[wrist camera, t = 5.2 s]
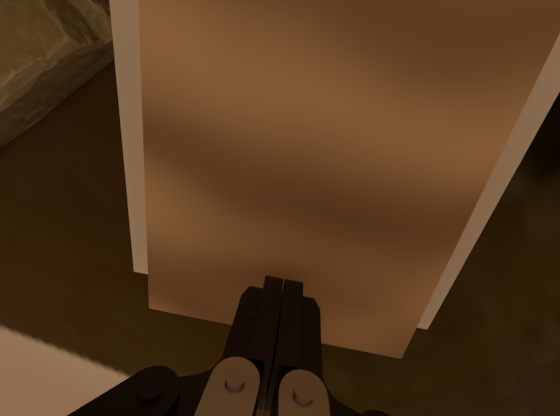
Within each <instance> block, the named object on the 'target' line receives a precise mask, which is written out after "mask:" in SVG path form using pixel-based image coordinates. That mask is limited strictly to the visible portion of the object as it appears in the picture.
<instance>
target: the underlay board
mask: <svg viewBox="0 0 560 416" xmlns="http://www.w3.org/2000/svg"><path fill="white" fill-rule="evenodd" d="M109 3H110V14H111V25H112V36H113V47H114V58H115V69H116V80H117V91H118V102H119V113H120V124H121V135H122V146H123V156H124V167H125V178H126V189H127V200H128V211H129V222H130V233H131V244H132V255H133V266H134V272H139V273H144V274H148V261H147V232H146V204H145V176H144V147H143V119H142V91H141V63H140V34H139V6H138V0H109ZM559 92H560V34H559V36H558V38H557V40H556V42H555V44H554V46H553V48H552V50H551V52H550V54H549V56H548V58H547V60H546V62H545V65H544V67H543V69H542V71H541V73H540V75H539V77H538V79H537V81H536V83H535V85H534V87H533V89H532V91H531V93H530V95H529V97H528V99H527V102H526V104H525V106H524V108H523V110H522V112H521V114H520V116H519V118H518V120H517V122H516V124H515V126H514V128H513V130H512V132H511V134H510V136H509V139H508V141H507V143H506V145H505V147H504V149H503V151H502V153H501V155H500V157H499V159H498V161H497V163H496V165H495V167H494V169H493V171H492V173H491V176H490V178H489V180H488V182H487V184H486V186H485V188H484V190H483V192H482V194H481V196H480V198H479V200H478V202H477V204H476V206H475V208H474V210H473V213H472V215H471V217H470V219H469V221H468V223H467V225H466V227H465V229H464V231H463V233H462V235H461V237H460V239H459V241H458V243H457V245H456V247H455V250H454V252H453V254H452V256H451V258H450V260H449V262H448V264H447V266H446V268H445V270H444V272H443V274H442V276H441V278H440V280H439V282H438V284H437V286H436V289H435V291H434V293H433V295H432V297H431V299H430V301H429V303H428V305H427V307H426V309H425V311H424V313H423V315H422V317H421V319H420V321H419V323H418V326H417V328H422V329H428V327H429V326H430V324H431V322H432V320H433V318H434V317H435V315H436V313H437V311H438V309H439V308H440V306H441V304H442V302H443V300H444V299H445V297H446V295H447V293H448V291H449V290H450V288H451V286H452V284H453V282H454V281H455V279H456V277H457V275H458V273H459V272H460V270H461V268H462V266H463V264H464V263H465V261H466V259H467V257H468V255H469V254H470V252H471V250H472V248H473V246H474V245H475V243H476V241H477V239H478V237H479V236H480V234H481V232H482V230H483V228H484V227H485V225H486V223H487V221H488V219H489V218H490V216H491V214H492V212H493V210H494V209H495V207H496V205H497V203H498V201H499V200H500V198H501V196H502V194H503V192H504V191H505V189H506V187H507V185H508V184H509V182H510V180H511V178H512V176H513V175H514V173H515V171H516V169H517V167H518V166H519V164H520V162H521V160H522V158H523V157H524V155H525V153H526V151H527V149H528V148H529V146H530V144H531V142H532V140H533V139H534V137H535V135H536V133H537V131H538V130H539V128H540V126H541V124H542V122H543V121H544V119H545V117H546V115H547V113H548V112H549V110H550V108H551V106H552V104H553V103H554V101H555V99H556V97H557V95H558V94H559Z"/></svg>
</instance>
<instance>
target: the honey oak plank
mask: <svg viewBox="0 0 560 416" xmlns="http://www.w3.org/2000/svg"><path fill="white" fill-rule="evenodd" d="M138 6H139V34H140V63H141V91H142V119H143V147H144V176H145V204H146V232H147V261H148V289H149V308H150V309H154V310H159V311H164V312H169V313H174V314H179V315H184V316H189V317H194V318H199V319H204V320H209V321H214V322H219V323H224V324H229V325H232V324H233V320H234V317H235V314H236V311H237V308H238V304H239V301H240V298H241V295H242V294H243V293H244V291H245V290H246V289H247V288H248V287H249V286H253V287H258V288H263V285H264V281H265V276H266V275H268V276H273V277H278V278H283V279H284V280H283V286H284V281H285V279H289V280H294V281H299V282H303V296H305V297H310V298H315V300H316V302H317V304H318V306H319V308H320V318H321V322H320V324H321V343H324V344H329V345H334V346H339V347H344V348H349V349H354V350H359V351H364V352H369V353H374V354H379V355H384V356H389V357H394V358H399V359H401V358H402V356H403V354H404V352H405V350H406V348H407V346H408V344H409V342H410V340H411V338H412V336H413V334H414V332H415V330H416V328H417V326H418V323H419V321H420V319H421V317H422V315H423V313H424V311H425V309H426V307H427V305H428V303H429V301H430V299H431V297H432V295H433V293H434V291H435V289H436V286H437V284H438V282H439V280H440V278H441V276H442V274H443V272H444V270H445V268H446V266H447V264H448V262H449V260H450V258H451V256H452V254H453V252H454V250H455V247H456V245H457V243H458V241H459V239H460V237H461V235H462V233H463V231H464V229H465V227H466V225H467V223H468V221H469V219H470V217H471V215H472V213H473V210H474V208H475V206H476V204H477V202H478V200H479V198H480V196H481V194H482V192H483V190H484V188H485V186H486V184H487V182H488V180H489V178H490V176H491V173H492V171H493V169H494V167H495V165H496V163H497V161H498V159H499V157H500V155H501V153H502V151H503V149H504V147H505V145H506V143H507V141H508V139H509V136H510V134H511V132H512V130H513V128H514V126H515V124H516V122H517V120H518V118H519V116H520V114H521V112H522V110H523V108H524V106H525V104H526V102H527V99H528V97H529V95H530V93H531V91H532V89H533V87H534V85H535V83H536V81H537V79H538V77H539V75H540V73H541V71H542V69H543V67H544V65H545V62H546V60H547V58H548V56H549V54H550V52H551V50H552V48H553V46H554V44H555V42H556V40H557V38H558V36H559V34H560V0H138ZM282 290H283V288H282Z"/></svg>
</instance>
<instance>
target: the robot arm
mask: <svg viewBox="0 0 560 416" xmlns="http://www.w3.org/2000/svg"><path fill="white" fill-rule="evenodd" d="M283 280H284V279H283V278H278V277H273V276H268V275H266V276H265V281H264V285H263V288H258V287H253V286H249V287H248V288H247V289H246V290H245V291H244V293H243V294H242V295H241V298H240V301H239V304H238V308H237V311H236V314H235V317H234V320H233V324H232V327H231V330H230V333H229V336H228V339H227V343H226V346H225V349H224V352H223V355H222V357H221V359H220V360H219V362H218V363H217V364H216V365H215V366H214V367H213V368H211V369H210V370H208V371H206V372H204V373H201V374H197V375H190V376H183V377H177V375H176V373H175V372H174V371H173V370H171V369H170V368H168V367H164V366H152V367H148V368H145V369H143V370H141V371H139V372H138V373H136V374H135V375H133V376H131V377H130V378H128V379H126V380H125V381H123V382H121V383H120V384H118V385H117V386H115V387H113V388H112V389H110V390H108V391H107V392H105V393H103V394H102V395H100V396H99V397H97V398H95V399H94V400H92V401H90V402H89V403H87V404H85V405H84V406H82V407H80V408H79V409H78V410H76V411H74V412H72V413H71V414H69V415H68V416H256V411H257V409H262V406H263V402H264V397H265V393H266V398H265V405H264V410H268V411H271V413H270V416H389V415H388V414H386V413H384V412H381V411H377V410H369V411H366V412H364V413H363V414H362V415H361V414H359V413H358V412H356V411H354V410H352V409H350V408H349V407H347V406H345V405H343V404H342V403H340V402H339V401H338V400H337V399H335V398H334V397H333V395H332V394H331V393H330V392H329V390H328V389H327V387H326V385H325V383H324V379H323V374H322V348H321V324H320V322H321V318H320V308H319V306H318V304H317V302H316V300H315V298H310V297H305V296H303V282H299V281H294V280H289V279H285V281H284V286H283ZM282 288H283V290H282ZM266 388H267V391H266Z"/></svg>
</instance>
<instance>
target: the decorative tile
mask: <svg viewBox="0 0 560 416" xmlns="http://www.w3.org/2000/svg"><path fill="white" fill-rule="evenodd" d="M114 59H115V58H114V47H113V36H112V25H111V14H110V3H109V0H0V149H1V148H3V147H4V146H5V145H7V144H8V143H9V142H11V141H12V140H13V139H15V138H16V137H17V136H19V135H20V134H21V133H23V132H24V131H26V130H27V129H29V128H30V127H31V126H33V125H34V124H36V123H37V122H38V121H40V120H41V119H42V118H44V117H45V116H46V115H47V114H48V113H49V112H51V111H52V110H53V109H54V108H55V107H56V106H57V105H59V104H60V103H61V102H62V101H63V100H65V99H66V98H67V97H68V96H69V95H70V94H72V93H73V92H74V91H76V90H77V89H78V88H79V87H81V86H82V85H84V84H85V83H86V82H88V81H89V80H90V79H91V78H92V77H94V76H95V75H96V74H97V73H99V72H100V71H101V70H102V69H104V68H105V67H106V66H107V65H108V64H110V63H111V62H112V61H113V60H114Z"/></svg>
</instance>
